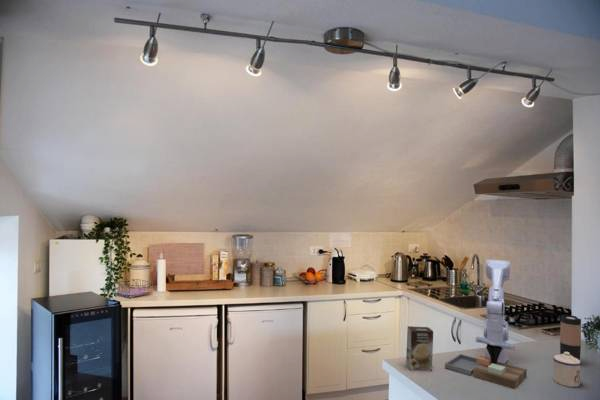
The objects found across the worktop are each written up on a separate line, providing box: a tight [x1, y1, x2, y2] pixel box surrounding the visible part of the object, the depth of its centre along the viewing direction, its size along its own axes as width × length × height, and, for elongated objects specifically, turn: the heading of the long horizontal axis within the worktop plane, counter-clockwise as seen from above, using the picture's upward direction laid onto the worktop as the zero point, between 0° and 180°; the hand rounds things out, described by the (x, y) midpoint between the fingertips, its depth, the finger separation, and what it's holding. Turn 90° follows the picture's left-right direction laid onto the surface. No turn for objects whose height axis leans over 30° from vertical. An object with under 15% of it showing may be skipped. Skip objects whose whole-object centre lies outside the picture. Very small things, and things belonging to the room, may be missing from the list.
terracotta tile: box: [476, 354, 492, 366], centre depth 170 cm, size 5×5×2 cm
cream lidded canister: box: [552, 352, 582, 388], centre depth 161 cm, size 12×9×12 cm
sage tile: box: [488, 363, 506, 376], centre depth 161 cm, size 5×5×2 cm
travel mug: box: [559, 314, 582, 361], centre depth 181 cm, size 8×8×20 cm
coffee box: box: [405, 326, 434, 371], centre depth 171 cm, size 9×6×16 cm
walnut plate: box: [472, 361, 527, 390], centre depth 164 cm, size 16×15×3 cm
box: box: [444, 353, 480, 377], centre depth 173 cm, size 16×10×2 cm, turn 137°
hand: (494, 363), depth 168 cm, fingers closed
